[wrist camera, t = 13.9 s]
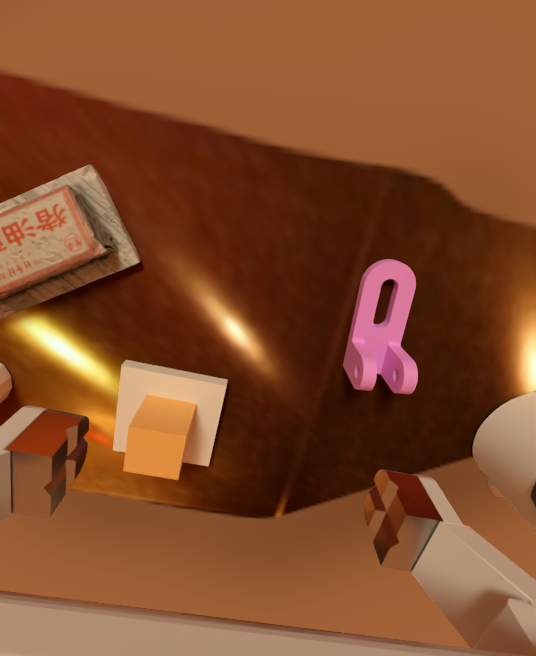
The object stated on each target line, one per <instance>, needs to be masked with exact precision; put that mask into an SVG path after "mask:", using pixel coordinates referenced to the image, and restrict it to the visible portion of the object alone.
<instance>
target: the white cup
mask: <svg viewBox="0 0 536 656" xmlns="http://www.w3.org/2000/svg"><path fill="white" fill-rule="evenodd" d="M11 389H12V379H11V375H10V373H9V372H8V370H7V369H6V367H5V366H4V365H3V364H2V363H1V362H0V403H1V402H2V401H3V400H4V399H6V398H7V397H8V395H9V393H10V391H11Z"/></svg>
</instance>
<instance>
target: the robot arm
mask: <svg viewBox="0 0 536 656" xmlns="http://www.w3.org/2000/svg"><path fill="white" fill-rule="evenodd" d="M88 430H89V419H88V418H87V417H86V416H81V415H76V414H71V413H66V412H61V411H56V410H51V409H45V408H40V407H35V406H30V405H28V406H24V407H22V408H21V409H20V410H18V411H17V412H16V413H15V414H14V415H13V416H12V417H11V418H9V419H8V420H7V421H6V422H5V423H4V424H3V425H1V426H0V522H2V521H4V520H5V519H7V518H8V517H10V516H11V513H14V514H22V515H31V516H40V517H49V518H50V517H51V516H52V514H53V513H54V511H55V509H56V508H57V507H58V505H59V503H60V502H61V501H62V499H63V498H64V496H65V490H66V485H67V484H69V483H71V482H73V481H75V479H76V477H77V476H78V474H79V473H80V471H81V468H82V466H83V463H84V461H85V457H86V453H87V445H88V444H87V442H86V441H85V439H84V438H83V437H84V436H85V434H86V433H87V431H88ZM473 458H474V461H475V463H476V465H477V467H478V468H479V470H480V471H481V472H482V473H483V474H484V475H485V476H486V478H487V483H488V488H489V490H490V491H491V493H493V495H494V496H495V497H497V498H505V499H506V500H507V501H508V502H509V503H510V504H511V505H512V506H513V507H514V508H515V509H516V510H517V511H518V512H519V513H520V515H522V517H523V518H524V519H525V520H526V521H527V522H528V523H529V524H530V525H531V526H532V527H533V528H534V529H535V530H536V391H534V392H531V393H528V394H525V395H522V396H519V397H516V398H514V399H512V400H510V401H508V402H506V403H505V404H503V405H501V406H500V407H499V408H497V409H496V410H495V411H493V412H492V413H491V414H490V415H489V416H488V417H487V418H486V420H485V421H484V422H483V423H482V425H481V426H480V428H479V430H478V431H477V433H476V436H475V439H474V442H473ZM374 481H375V484H376V487H375V488H373V489H372V490H370V491H369V492H368V495H367V497H366V500H365V508H364V512H365V520H366V523H367V526H368V528H369V529H370V530H371V531H372V532H373V533H374V534H375V535H376V536H375V538H374V541H373V544H374V547H375V550H376V553H377V556H378V559H379V562H380V565H381V566H383V567H388V568H394V569H400V570H405V571H411V572H412V573H411V574H412V575H413V576H414V577H415V579H416V580H417V581H418V582H419V584H420V585H421V586H422V587H423V589H424V590H425V591H426V592H427V594H428V595H429V596H430V597H431V599H432V600H433V601H434V602H435V604H436V605H437V606H438V607H439V609H440V610H441V611H442V612H443V614H444V615H445V616H446V617H447V619H448V620H449V621H450V622H451V624H452V625H453V626H454V627H455V629H456V630H457V631H458V632H459V634H460V635H461V636H462V637H463V639H464V640H465V641H466V642H467V643H468V645H469V646H470V647H471V648H462V647H455V646H446V645H438V644H431V643H422V642H414V641H406V640H398V639H389V638H382V637H373V636H365V635H357V634H348V633H341V632H332V631H324V630H316V629H307V628H299V627H291V626H283V625H275V624H267V623H259V622H251V621H243V620H235V619H227V618H219V617H211V616H203V615H195V614H186V613H178V612H170V611H162V610H154V609H146V608H138V607H129V606H122V605H113V604H104V603H97V602H89V601H80V600H73V599H64V598H57V597H48V596H40V595H32V594H24V593H16V592H8V591H0V656H536V580H535V579H533V578H532V577H531V576H530V575H528V574H527V573H526V572H525V571H523V570H522V569H521V568H520V567H518V566H517V565H516V564H515V563H514V562H512V561H511V560H510V559H509V558H507V557H506V556H505V555H504V554H502V553H501V552H500V551H498V550H497V549H496V548H495V547H494V546H492V545H491V544H490V543H489V542H488V541H486V540H485V539H484V538H482V537H481V536H480V535H479V534H478V533H476V532H475V531H474V530H473V529H471V528H470V527H469V526H464V525H463V524H462V523H461V521H460V520H459V518H458V516H457V514H456V513H455V511H454V510H453V508H452V507H451V505H450V503H449V502H448V500H447V499H446V497H445V495H444V494H443V492H442V491H441V489H440V488H439V486H438V484H437V483H436V481H435V480H434V479H433V478H431V477H428V476H422V475H415V474H414V475H412V474H406V473H400V472H394V471H389V470H383V469H380V470H379V471H378V472H377V474H376V476H375V478H374Z"/></svg>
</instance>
